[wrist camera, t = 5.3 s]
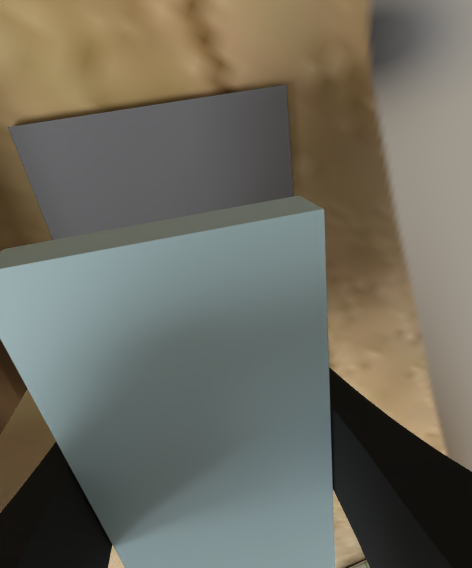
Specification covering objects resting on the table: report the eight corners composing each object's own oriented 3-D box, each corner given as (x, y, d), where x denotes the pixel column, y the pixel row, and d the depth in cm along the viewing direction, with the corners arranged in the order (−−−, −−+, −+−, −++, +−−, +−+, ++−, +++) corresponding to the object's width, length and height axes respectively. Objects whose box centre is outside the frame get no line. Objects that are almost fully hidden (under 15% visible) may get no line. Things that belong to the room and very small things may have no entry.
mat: (307, 421, 18) (309, 425, 18) (142, 459, 18) (142, 464, 17) (283, 85, 11) (286, 84, 11) (11, 127, 11) (7, 127, 10)
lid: (320, 533, 11) (335, 576, 10) (158, 575, 11) (156, 624, 10) (299, 195, 6) (324, 208, 5) (4, 248, 6) (-35, 275, 5)
